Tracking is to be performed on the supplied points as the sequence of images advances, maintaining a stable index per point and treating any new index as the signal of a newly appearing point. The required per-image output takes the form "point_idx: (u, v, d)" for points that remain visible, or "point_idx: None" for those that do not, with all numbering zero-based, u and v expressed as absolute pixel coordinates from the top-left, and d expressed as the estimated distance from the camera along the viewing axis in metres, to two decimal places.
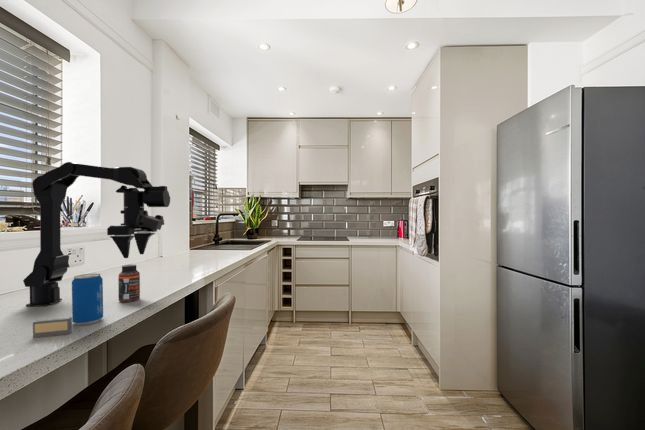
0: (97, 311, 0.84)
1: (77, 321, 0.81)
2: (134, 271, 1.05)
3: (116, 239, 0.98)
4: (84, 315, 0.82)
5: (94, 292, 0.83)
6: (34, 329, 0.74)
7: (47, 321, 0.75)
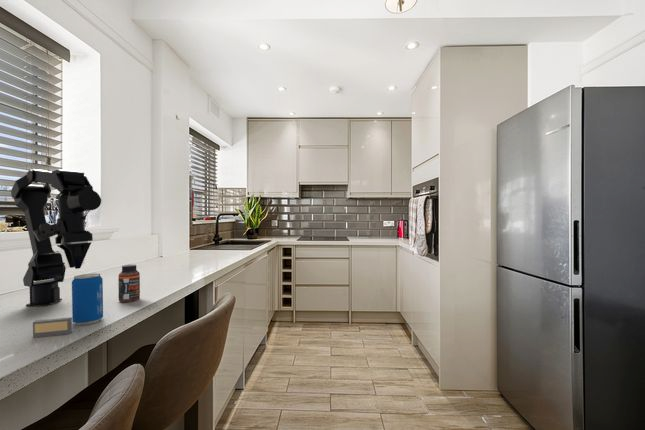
0: (97, 311, 0.84)
1: (77, 321, 0.81)
2: (134, 271, 1.05)
3: None
4: (84, 315, 0.82)
5: (94, 292, 0.83)
6: (34, 329, 0.74)
7: (47, 321, 0.75)
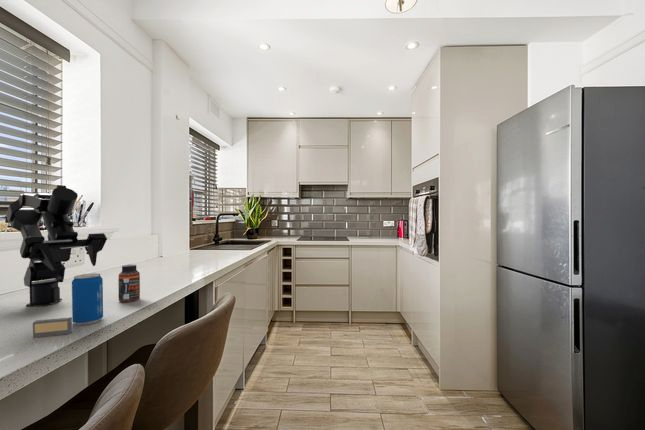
0: (97, 311, 0.84)
1: (77, 321, 0.81)
2: (134, 271, 1.05)
3: None
4: (84, 315, 0.82)
5: (94, 292, 0.83)
6: (34, 329, 0.74)
7: (47, 321, 0.75)
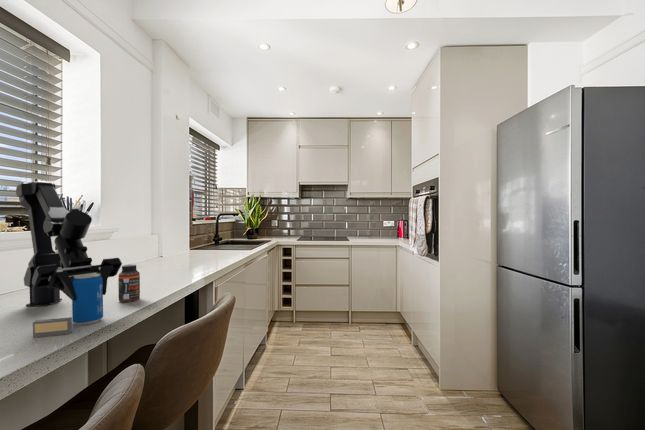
0: (97, 311, 0.84)
1: (77, 321, 0.81)
2: (134, 271, 1.05)
3: None
4: (84, 315, 0.82)
5: (94, 292, 0.83)
6: (34, 329, 0.74)
7: (47, 321, 0.75)
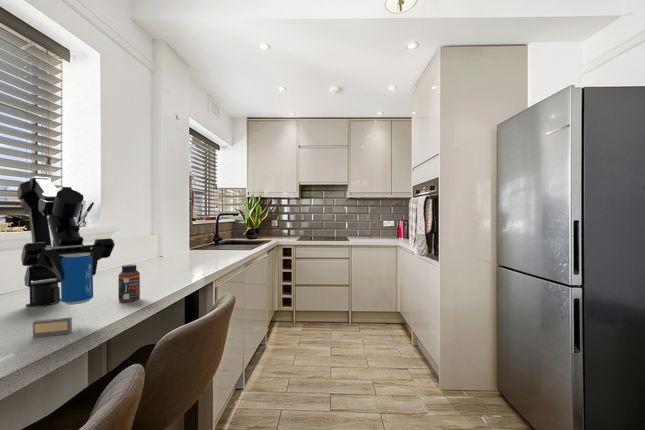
0: (86, 291, 0.82)
1: (65, 300, 0.80)
2: (134, 271, 1.05)
3: None
4: (72, 294, 0.80)
5: (83, 272, 0.81)
6: (34, 329, 0.74)
7: (47, 321, 0.75)
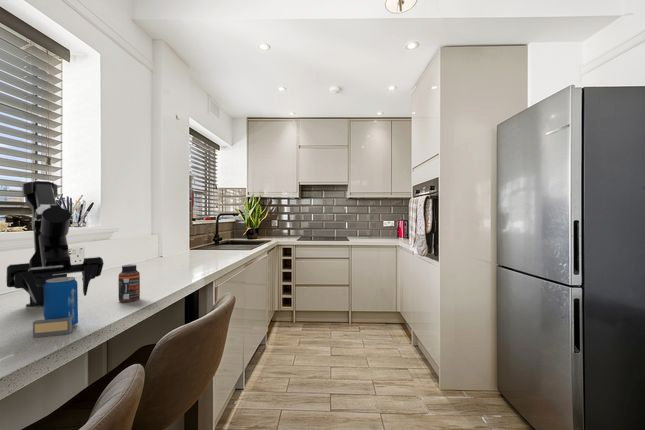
0: (68, 317, 0.79)
1: None
2: (134, 271, 1.05)
3: None
4: None
5: (65, 297, 0.78)
6: (34, 329, 0.74)
7: (47, 321, 0.75)
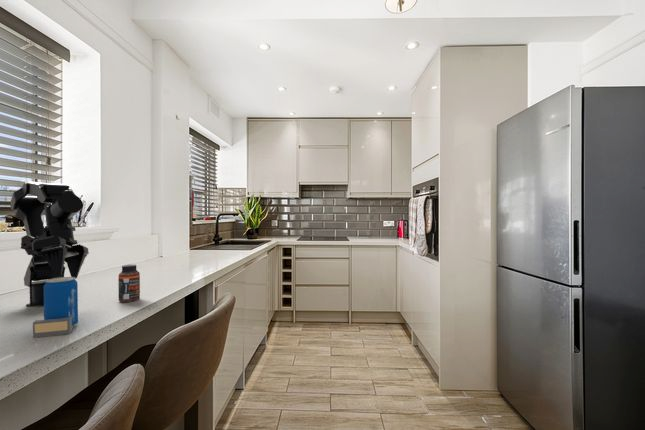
0: (68, 317, 0.79)
1: None
2: (134, 271, 1.05)
3: None
4: None
5: (65, 297, 0.78)
6: (34, 329, 0.74)
7: (47, 321, 0.75)
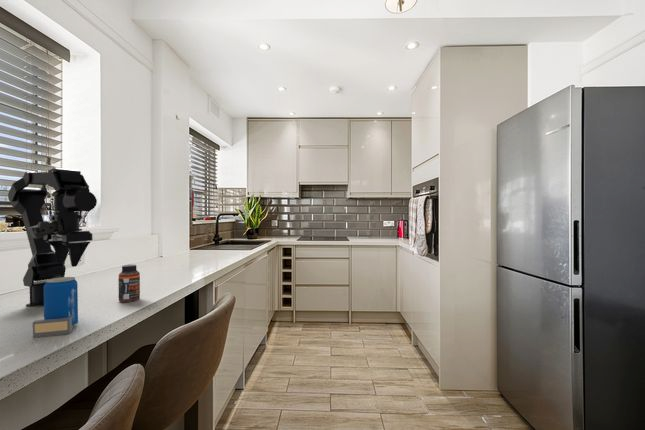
0: (68, 317, 0.79)
1: None
2: (134, 271, 1.05)
3: None
4: None
5: (65, 297, 0.78)
6: (34, 329, 0.74)
7: (47, 321, 0.75)
